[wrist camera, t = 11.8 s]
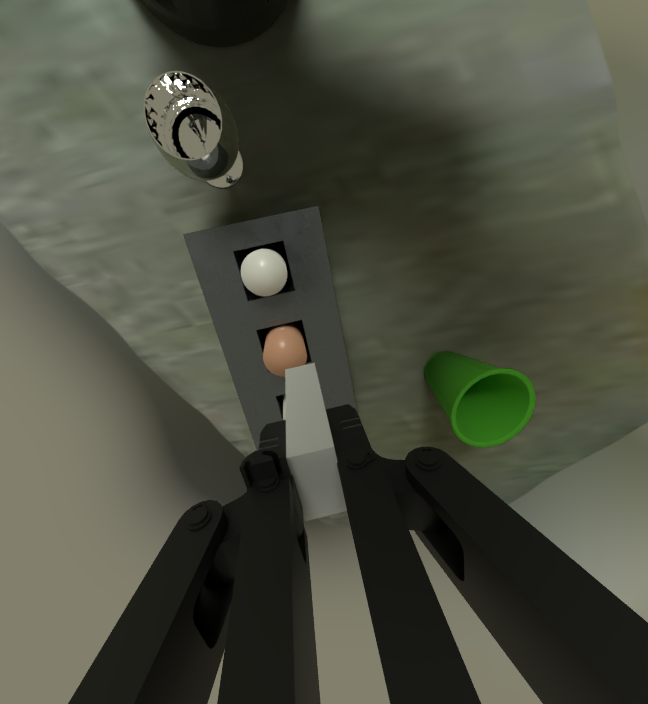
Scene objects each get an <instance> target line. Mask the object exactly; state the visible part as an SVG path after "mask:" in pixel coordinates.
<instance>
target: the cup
mask: <svg viewBox="0 0 648 704" xmlns="http://www.w3.org/2000/svg"><path fill="white" fill-rule="evenodd" d="M424 374H425V379H426V381H427V383H428V384H429V386H430V388H431V389H432V391H433V393H434V394H435V396H436V398H437V399H438V401H439V403H440V404H441V406H442V407H443V409H444V411H445V412H446V414H447V416H448V417H449V419H450V421H451V427H452V429H453V431H454V433H455V435H456V436H457V437H458V438H459V439H460V440H461V441H462V442H464V443H466V444H468V445H471V446H475V447H492V446H496V445H499V444H502V443H504V442H506V441H508V440H509V439H511V438H513V437H514V436H516V435H517V434H518V433H519V432H520V431H521V430H522V429H523V428H524V427H525V425H526V424H527V423H528V421H529V420H530V418H531V415H532V413H533V411H534V407H535V403H536V398H535V391H534V387H533V385H532V383H531V381H530V380H529V379H528V377H527V376H525V375H524V374H523V373H521V372H520V371H517V370H514V369H511V368H498V367H495V366H492V365H489V364H486V363H483V362H480V361H477V360H474V359H472V358H469V357H466V356H463V355H460V354H457V353H454V352H451V351H443V352H439V353H437V354H435V355H433V356H432V357H431V358H430V359H429V360H428V362H427V363H426V366H425V371H424Z"/></svg>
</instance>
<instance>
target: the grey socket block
mask: <svg viewBox="0 0 648 704" xmlns="http://www.w3.org/2000/svg"><path fill="white" fill-rule="evenodd" d="M183 236H184V239H185V241H186V244H187V247H188V250H189V253H190V256H191V259H192V262H193V265H194V268H195V271H196V274H197V277H198V279H199V282H200V285H201V288H202V291H203V294H204V297H205V300H206V303H207V306H208V309H209V312H210V314H211V317H212V320H213V323H214V326H215V329H216V332H217V335H218V338H219V341H220V344H221V347H222V350H223V352H224V355H225V358H226V361H227V364H228V367H229V370H230V373H231V376H232V379H233V382H234V385H235V388H236V390H237V393H238V396H239V399H240V402H241V405H242V408H243V411H244V414H245V417H246V420H247V423H248V425H249V428H250V431H251V434H252V437H253V440H254V443H255V446H256V449H257V450H259V443H260V442H259V440H260V433H261V431H262V430H263V428H264V427H265V425H266V424H269V423H273V422H278V421H282V420H283V394H285V377H281V376H277V375H275V374H273V373H271V372H270V371H269V370H268V369H267V368H266V366H265V364H264V361H263V352H264V346H265V340H266V335H265V331H264V328H268V327H272V326H277V325H281V324H285V323H290V322H294V321H298V320H302V323H303V327H304V331H305V336H306V340H307V344H305V348H306V353H307V360H306V363H305V365H307V364H311V363H315V367H316V371H317V376H318V380H319V384H320V388H321V393H322V397H323V401H324V405H325V409H329V408H334V407H338V406H342V405H346V404H349V405H350V406H352V407H353V408H355V409H356V411H357V408H356V402H355V397H354V392H353V386H352V381H351V376H350V370H349V365H348V360H347V355H346V349H345V344H344V339H343V333H342V328H341V323H340V317H339V312H338V307H337V302H336V296H335V291H334V286H333V280H332V275H331V270H330V265H329V259H328V254H327V249H326V243H325V238H324V233H323V227H322V222H321V217H320V212H319V206H314V207H310V208H305V209H300V210H296V211H291V212H286V213H281V214H277V215H272V216H267V217H263V218H258V219H253V220H248V221H244V222H239V223H234V224H229V225H225V226H220V227H215V228H211V229H206V230H201V231H196V232H192V233H187V234H183ZM279 241H283V242H284V246H285V250H286V255H287V259H288V263H289V267H290V272H291V276H292V280H293V283H290V284H286V285H284V287H283V288H282V289H281V290H280V291H279V292H278V293H276V294H274V295H271V296H259V295H256V294H254V293H252V292H251V291H250V290H248V288H247V287H246V286H245V285H244V283H243V281H242V278H241V266H242V263H243V261H244V257H243V254H242V249H247V248H251V247H256V246H260V245H265V244H270V243H274V242H279ZM357 414H358V413H357Z"/></svg>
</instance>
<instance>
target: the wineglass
mask: <svg viewBox="0 0 648 704" xmlns="http://www.w3.org/2000/svg"><path fill="white" fill-rule="evenodd" d="M144 117H145V121H146V125H147V128H148V130H149V133H150V135H151V137H152V139H153V141H154V143H155V145H156V147H157V148H158V150H159V151H160V153H161V154H162V156H163V157H164V158H165V159H166V160H167V162H168V163H169V164H171V165H172V166H173V167H174V168H175V169H176V170H178V171H179V172H181V173H182V174H184V175H185V176H187V177H190V178H193V179H196V180H202V181H206V182H207V183H209V184H211V185H212V186H214V187H218V188H228V187H231V186H233V185H234V184H235V183H237V182H238V180H239V179H240V177H241V175H242V172H243V160H242V156H241V153H240V151H239V135H238V129H237V125H236V123H235V120H234V117H233V115H232V113H231V111H230V110H229V108H228V107H227V105H226V104H225V102H224V101H223V99H222V98H221V97H220V96H219V95H218V94H217V93H216V92H215V91H214V90H213V89H212V88H211V87H210V86H209V85H207V84H206V83H204V82H203V81H201V80H200V79H199V78H197V77H195V76H194V75H191V74H189V73H186V72H182V71H170V72H166V73H163V74H161V75H159V76H158V77H157V78H155V79H154V80H153V81H152V83H151V84H150V85H149V87H148V89H147V92H146V94H145V99H144Z"/></svg>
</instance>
